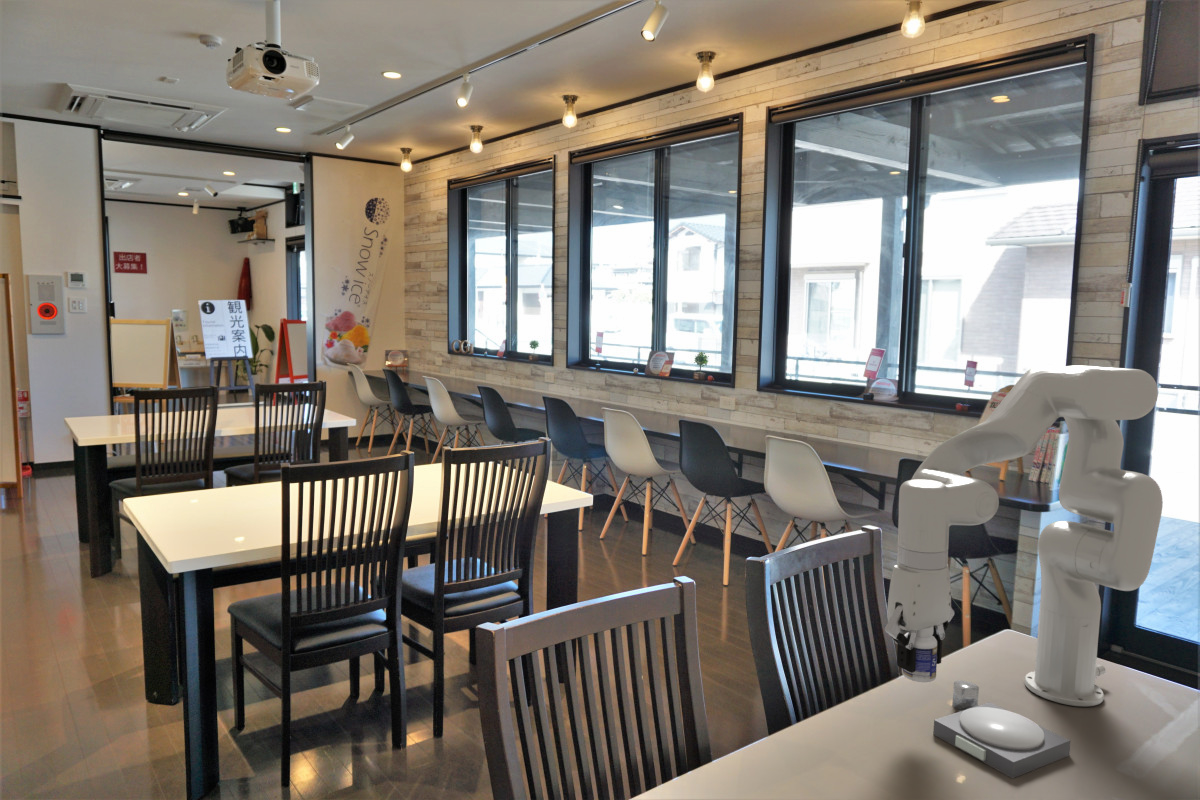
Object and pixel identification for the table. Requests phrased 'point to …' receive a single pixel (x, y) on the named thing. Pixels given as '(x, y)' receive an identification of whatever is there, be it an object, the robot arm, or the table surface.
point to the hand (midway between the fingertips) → (919, 663)
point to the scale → (1002, 739)
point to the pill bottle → (924, 656)
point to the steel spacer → (965, 695)
